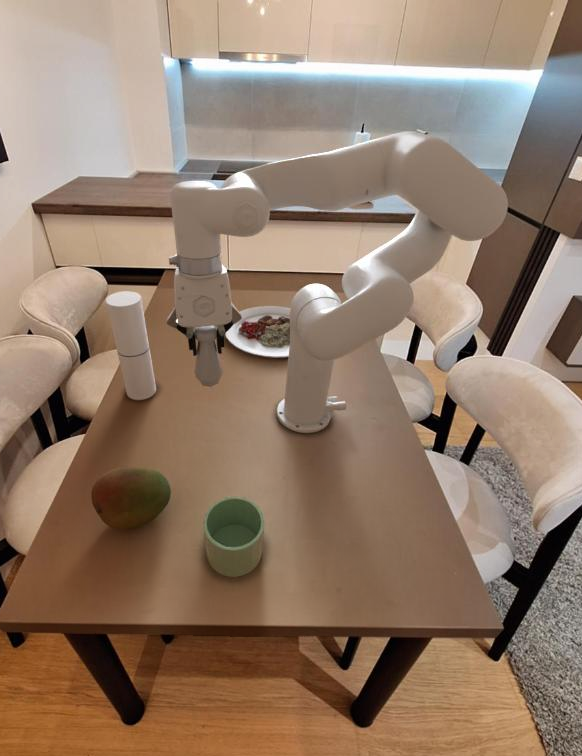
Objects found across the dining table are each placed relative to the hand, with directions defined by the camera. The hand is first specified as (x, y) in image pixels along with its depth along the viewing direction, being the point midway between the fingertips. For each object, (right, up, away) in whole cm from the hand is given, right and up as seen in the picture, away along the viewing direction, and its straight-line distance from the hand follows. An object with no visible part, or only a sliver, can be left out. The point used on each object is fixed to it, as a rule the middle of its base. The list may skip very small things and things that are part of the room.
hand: (207, 350), depth 80 cm
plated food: (+15, +8, +43) cm, 46 cm away
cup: (+6, -34, -13) cm, 37 cm away
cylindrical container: (-19, -9, +20) cm, 29 cm away
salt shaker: (0, -6, +5) cm, 8 cm away
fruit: (-12, -30, -7) cm, 33 cm away
